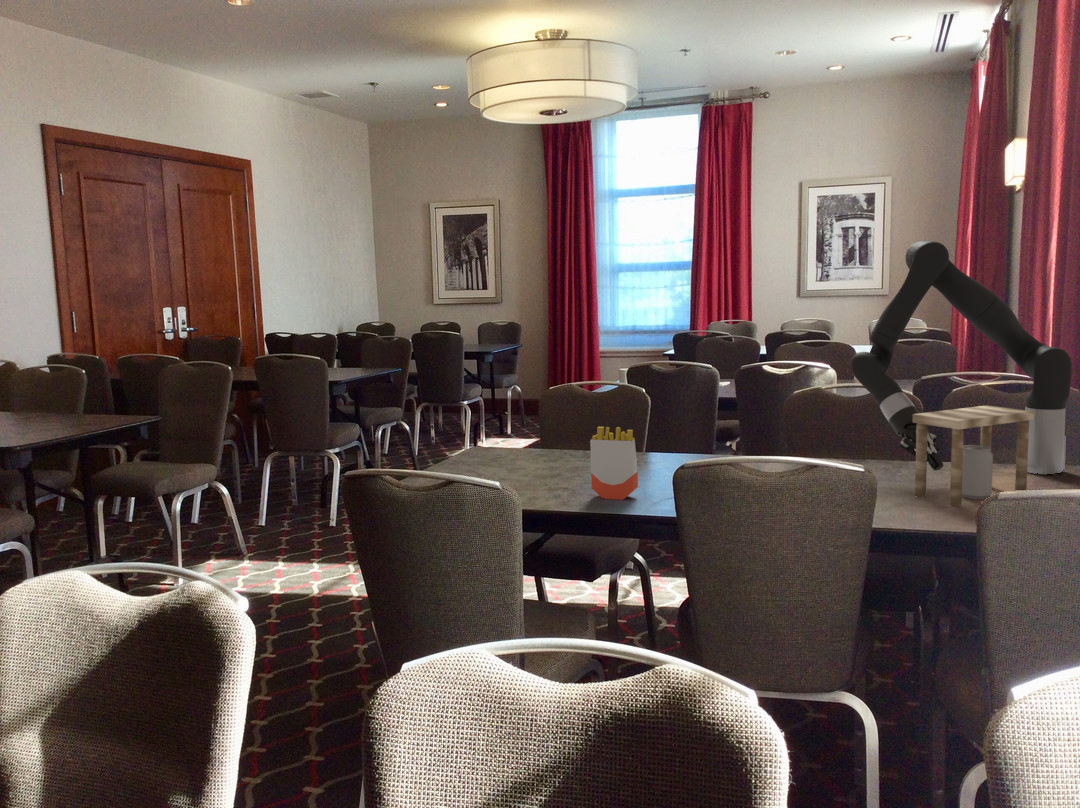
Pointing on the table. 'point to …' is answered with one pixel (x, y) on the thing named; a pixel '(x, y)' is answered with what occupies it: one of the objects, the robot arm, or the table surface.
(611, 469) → the french fries container
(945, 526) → the table surface
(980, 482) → the can
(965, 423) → the stand
